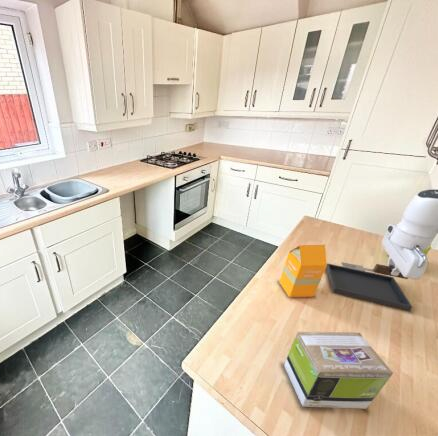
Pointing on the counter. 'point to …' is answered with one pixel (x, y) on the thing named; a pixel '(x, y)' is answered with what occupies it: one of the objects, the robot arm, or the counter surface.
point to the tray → (367, 286)
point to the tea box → (335, 370)
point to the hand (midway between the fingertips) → (391, 271)
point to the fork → (377, 269)
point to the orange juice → (303, 270)
